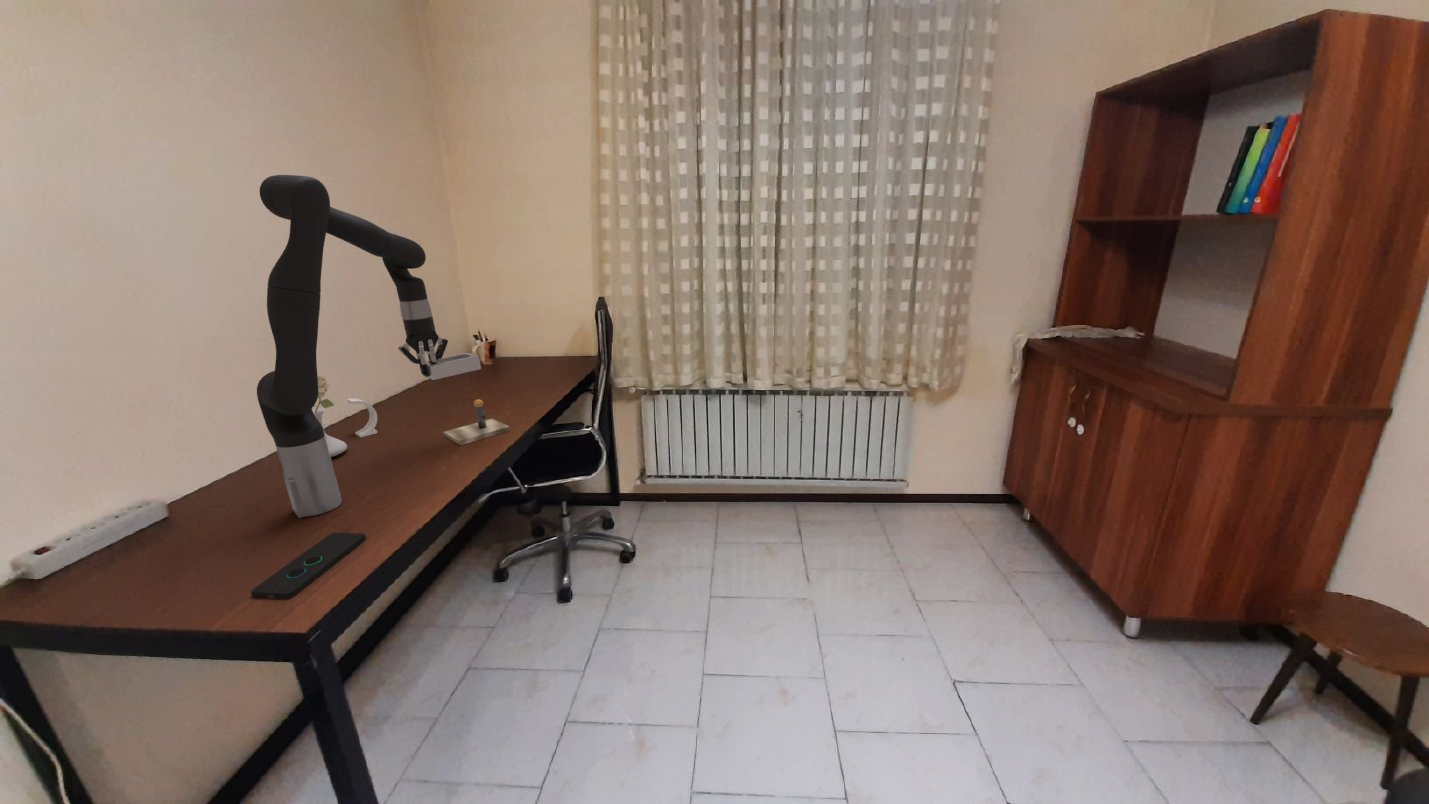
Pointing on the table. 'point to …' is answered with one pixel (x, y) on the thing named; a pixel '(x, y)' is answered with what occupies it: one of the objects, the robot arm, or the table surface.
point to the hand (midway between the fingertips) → (430, 375)
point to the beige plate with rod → (476, 428)
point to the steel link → (453, 365)
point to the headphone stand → (372, 419)
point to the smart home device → (308, 566)
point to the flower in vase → (332, 443)
